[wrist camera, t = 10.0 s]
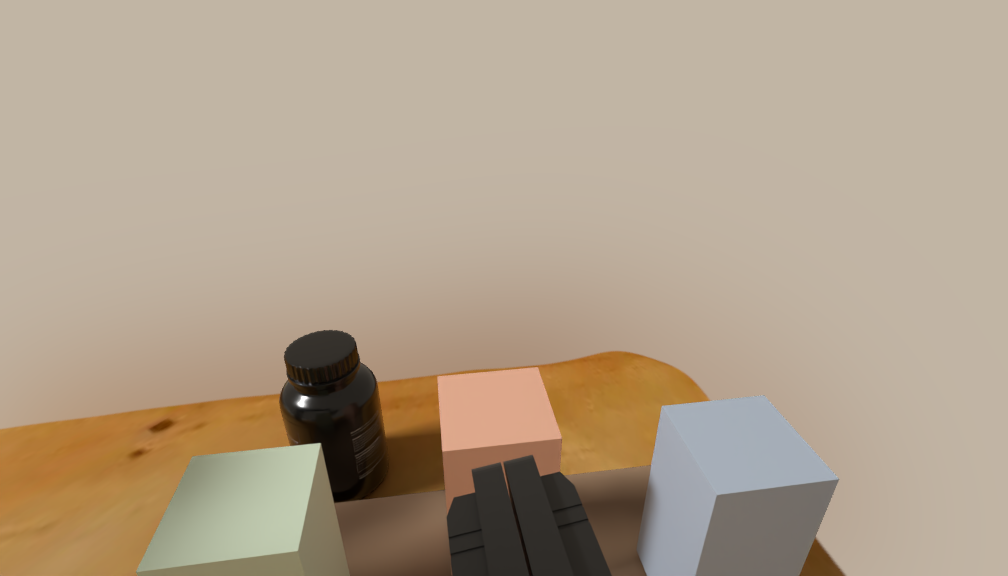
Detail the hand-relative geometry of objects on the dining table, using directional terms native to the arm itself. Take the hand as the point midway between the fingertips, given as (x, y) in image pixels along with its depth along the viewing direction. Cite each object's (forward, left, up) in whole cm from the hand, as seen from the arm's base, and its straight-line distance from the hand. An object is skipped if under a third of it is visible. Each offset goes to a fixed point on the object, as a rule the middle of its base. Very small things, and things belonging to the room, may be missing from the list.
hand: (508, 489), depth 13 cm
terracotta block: (-10, +9, -21) cm, 25 cm away
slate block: (0, +16, -21) cm, 27 cm away
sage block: (-14, -3, -21) cm, 25 cm away
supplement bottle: (-24, +6, -23) cm, 34 cm away
